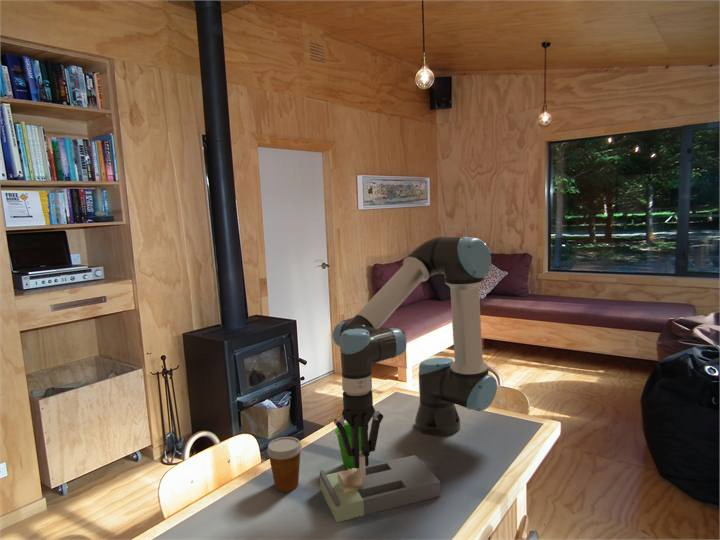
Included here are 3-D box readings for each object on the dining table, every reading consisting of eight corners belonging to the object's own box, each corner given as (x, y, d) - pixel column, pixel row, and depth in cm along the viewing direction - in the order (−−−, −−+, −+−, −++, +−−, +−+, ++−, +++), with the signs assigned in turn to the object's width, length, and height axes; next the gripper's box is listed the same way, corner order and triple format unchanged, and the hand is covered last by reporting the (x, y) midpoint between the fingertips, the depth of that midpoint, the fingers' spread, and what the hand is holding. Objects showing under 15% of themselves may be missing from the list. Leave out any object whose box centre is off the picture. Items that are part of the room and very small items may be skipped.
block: (356, 478, 131) (355, 468, 130) (362, 488, 126) (362, 477, 126) (338, 482, 129) (337, 472, 129) (343, 493, 124) (343, 481, 124)
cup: (364, 474, 140) (362, 437, 139) (333, 472, 142) (331, 435, 141) (370, 458, 149) (368, 423, 148) (341, 456, 151) (339, 422, 150)
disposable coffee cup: (289, 499, 130) (286, 455, 128) (261, 489, 135) (258, 447, 133) (311, 481, 138) (308, 440, 136) (284, 473, 143) (282, 433, 141)
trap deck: (415, 468, 142) (414, 450, 142) (440, 495, 128) (440, 475, 128) (320, 490, 133) (319, 470, 133) (336, 522, 119) (335, 501, 119)
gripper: (337, 400, 120) (342, 491, 123) (386, 391, 124) (390, 480, 127) (328, 389, 127) (333, 476, 130) (375, 382, 131) (379, 466, 134)
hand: (361, 478), depth 129 cm, fingers closed
